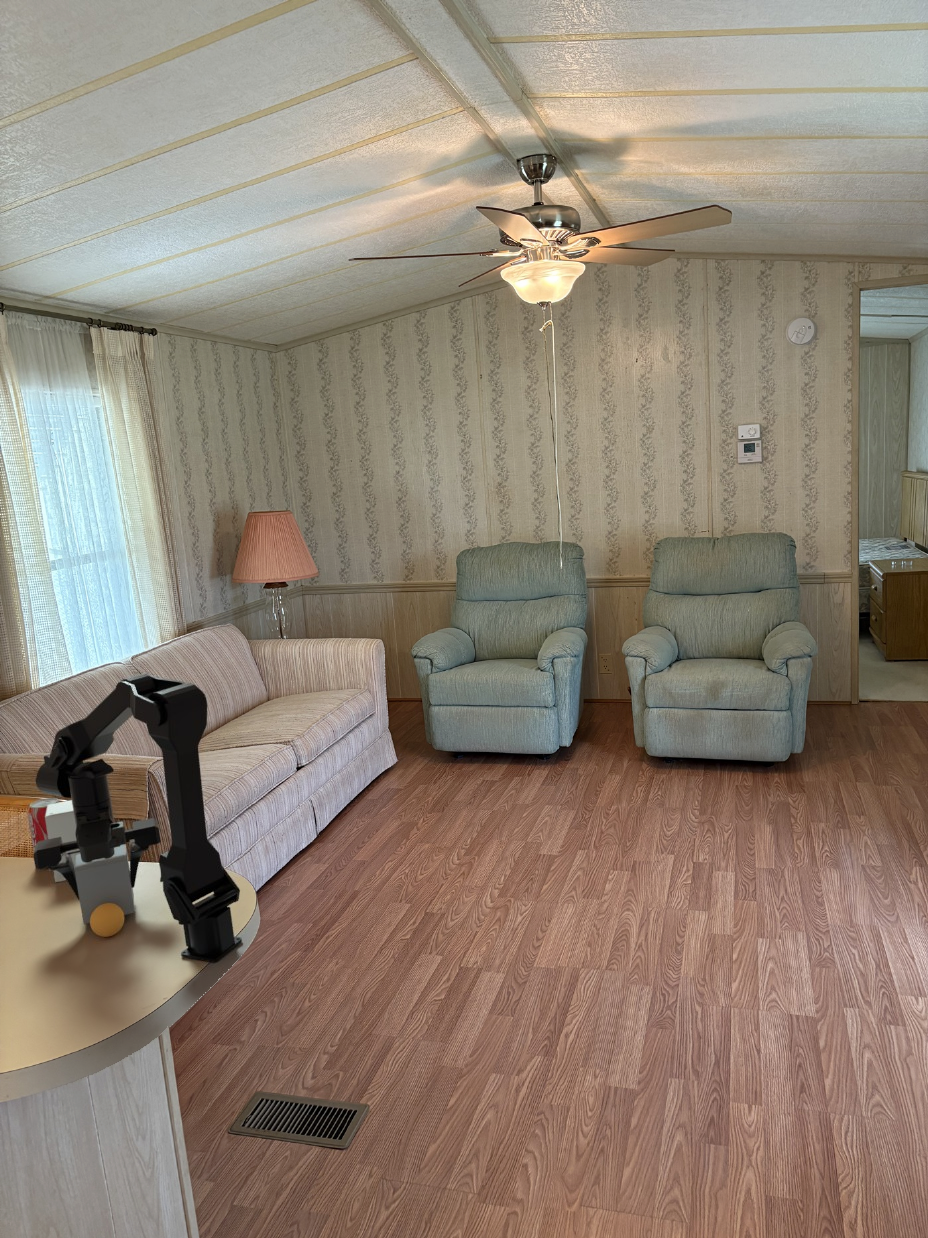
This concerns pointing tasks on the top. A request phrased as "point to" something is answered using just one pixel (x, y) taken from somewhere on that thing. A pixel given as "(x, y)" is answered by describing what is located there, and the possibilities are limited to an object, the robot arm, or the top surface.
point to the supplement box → (61, 827)
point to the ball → (107, 919)
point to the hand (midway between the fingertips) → (106, 892)
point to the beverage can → (39, 819)
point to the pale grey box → (104, 883)
